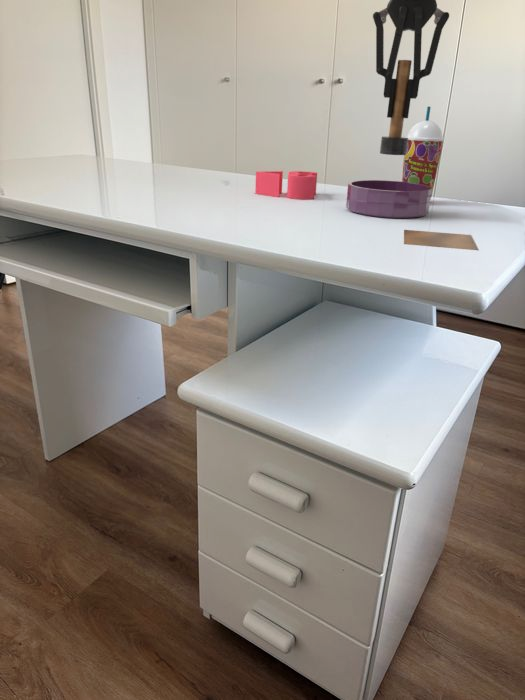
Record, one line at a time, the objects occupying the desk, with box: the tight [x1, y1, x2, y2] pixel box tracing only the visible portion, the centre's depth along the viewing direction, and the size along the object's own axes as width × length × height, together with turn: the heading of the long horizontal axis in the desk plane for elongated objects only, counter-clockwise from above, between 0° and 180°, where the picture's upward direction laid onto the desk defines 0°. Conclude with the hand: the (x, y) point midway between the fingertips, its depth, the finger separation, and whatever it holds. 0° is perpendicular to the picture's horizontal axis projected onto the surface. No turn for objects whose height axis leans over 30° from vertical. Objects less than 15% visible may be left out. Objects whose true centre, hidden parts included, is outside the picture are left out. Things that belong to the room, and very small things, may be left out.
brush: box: [379, 59, 412, 156], centre depth 100 cm, size 5×5×16 cm
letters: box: [254, 170, 318, 200], centre depth 126 cm, size 14×10×5 cm
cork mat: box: [403, 229, 480, 251], centre depth 86 cm, size 11×11×1 cm
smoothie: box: [401, 106, 445, 197], centre depth 119 cm, size 8×8×20 cm
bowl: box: [345, 179, 433, 219], centre depth 107 cm, size 16×16×6 cm
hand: (397, 117), depth 101 cm, fingers closed on brush, 2 cm apart
